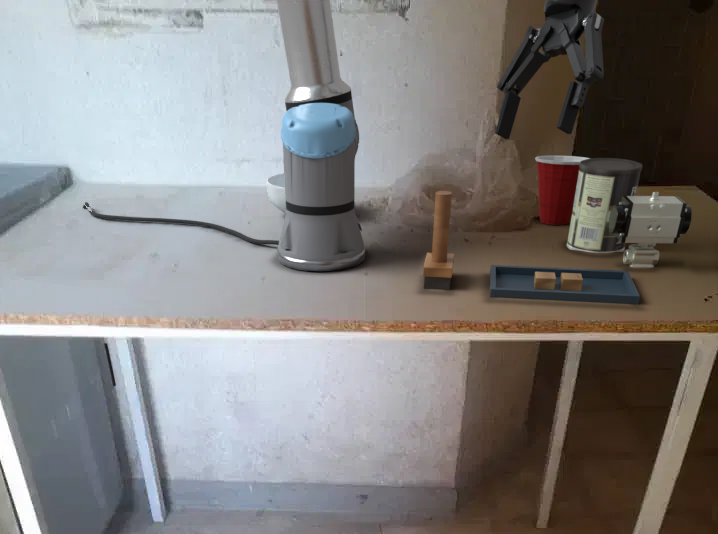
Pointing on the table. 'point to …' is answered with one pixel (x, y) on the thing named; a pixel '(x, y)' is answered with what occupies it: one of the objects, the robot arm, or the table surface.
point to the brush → (440, 246)
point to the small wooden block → (571, 281)
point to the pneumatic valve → (648, 225)
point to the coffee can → (600, 202)
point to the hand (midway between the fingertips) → (531, 133)
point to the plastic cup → (557, 187)
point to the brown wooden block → (544, 280)
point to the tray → (594, 287)
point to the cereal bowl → (277, 191)
